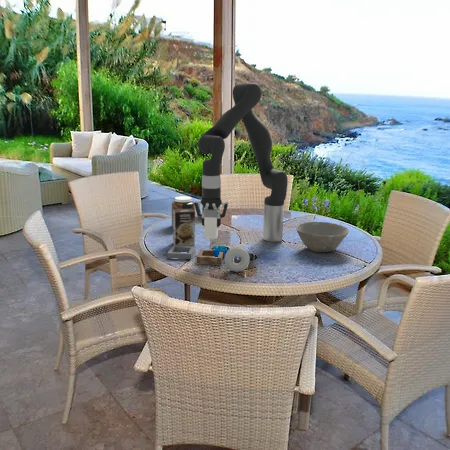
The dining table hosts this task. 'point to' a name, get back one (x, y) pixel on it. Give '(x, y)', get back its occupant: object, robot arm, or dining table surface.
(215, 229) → the plug block
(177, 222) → the coffee box
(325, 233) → the ceramic bowl
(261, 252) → the dining table surface
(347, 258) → the dining table surface
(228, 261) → the donut
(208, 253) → the walnut socket
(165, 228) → the dining table surface
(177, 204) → the jar
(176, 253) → the grey square frame
